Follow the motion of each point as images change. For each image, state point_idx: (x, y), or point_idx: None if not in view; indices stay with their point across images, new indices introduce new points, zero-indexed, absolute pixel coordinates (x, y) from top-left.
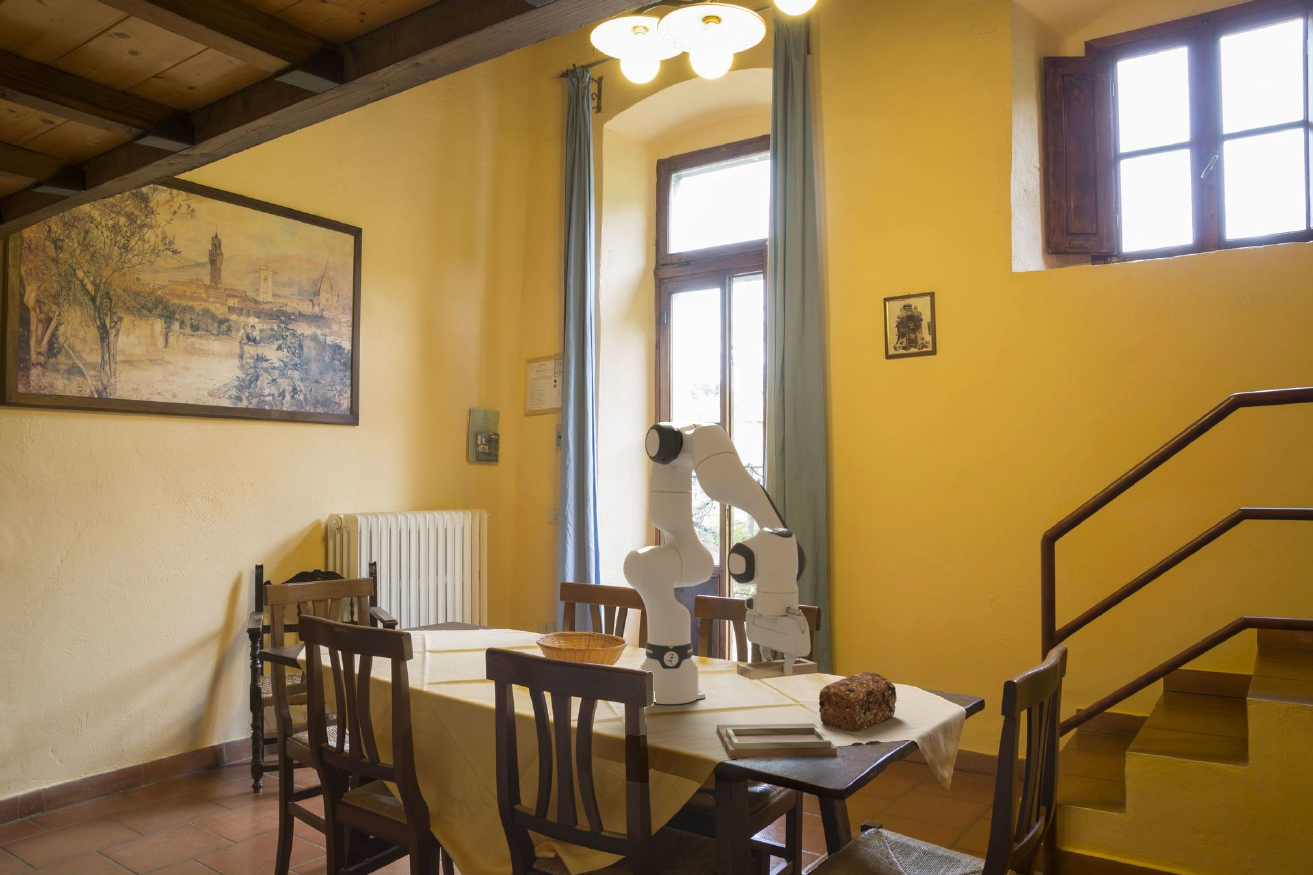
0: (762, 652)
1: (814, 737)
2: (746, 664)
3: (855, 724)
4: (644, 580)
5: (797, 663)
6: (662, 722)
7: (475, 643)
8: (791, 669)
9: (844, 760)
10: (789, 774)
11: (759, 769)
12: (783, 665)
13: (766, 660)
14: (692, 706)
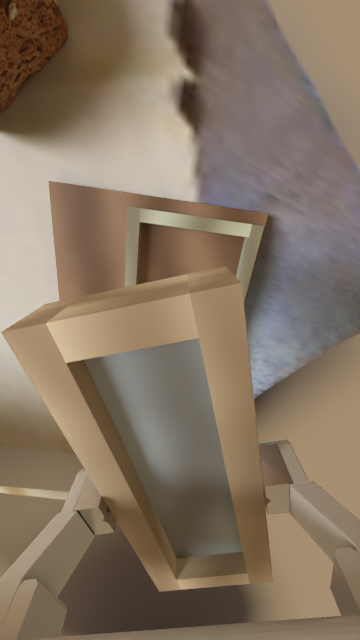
0: (63, 584)
1: (176, 234)
2: (171, 576)
3: (62, 20)
4: None
5: (86, 364)
6: (21, 442)
7: None
8: (298, 464)
9: (296, 209)
10: (321, 343)
11: (280, 377)
12: (277, 509)
13: (114, 527)
14: None
